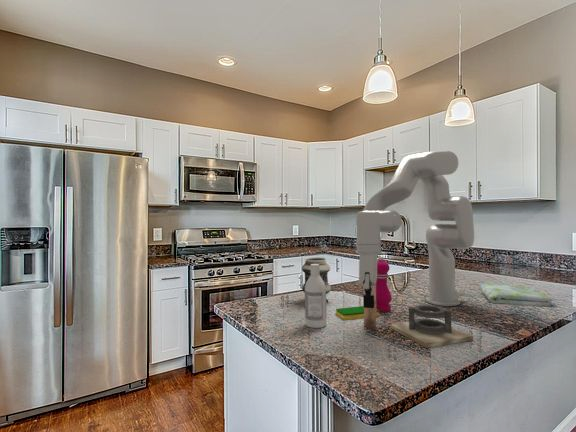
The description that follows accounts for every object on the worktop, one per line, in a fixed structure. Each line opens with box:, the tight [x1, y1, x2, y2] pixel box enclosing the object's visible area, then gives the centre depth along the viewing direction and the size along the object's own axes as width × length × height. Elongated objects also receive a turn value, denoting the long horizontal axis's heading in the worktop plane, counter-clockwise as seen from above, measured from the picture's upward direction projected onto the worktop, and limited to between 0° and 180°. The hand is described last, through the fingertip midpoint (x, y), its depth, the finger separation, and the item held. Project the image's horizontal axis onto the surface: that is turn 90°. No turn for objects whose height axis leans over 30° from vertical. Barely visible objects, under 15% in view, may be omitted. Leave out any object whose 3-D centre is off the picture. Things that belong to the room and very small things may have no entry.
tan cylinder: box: [362, 282, 378, 329], centre depth 105 cm, size 4×4×16 cm
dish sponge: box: [335, 305, 380, 321], centre depth 117 cm, size 7×14×2 cm, turn 105°
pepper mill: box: [376, 256, 393, 312], centre depth 123 cm, size 7×7×20 cm
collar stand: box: [390, 304, 474, 349], centre depth 97 cm, size 16×16×8 cm
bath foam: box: [304, 264, 327, 329], centre depth 107 cm, size 7×7×20 cm
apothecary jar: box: [301, 257, 332, 304], centre depth 136 cm, size 12×12×18 cm
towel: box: [479, 282, 553, 307], centre depth 134 cm, size 18×21×5 cm
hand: (369, 305), depth 105 cm, fingers closed on tan cylinder, 4 cm apart
